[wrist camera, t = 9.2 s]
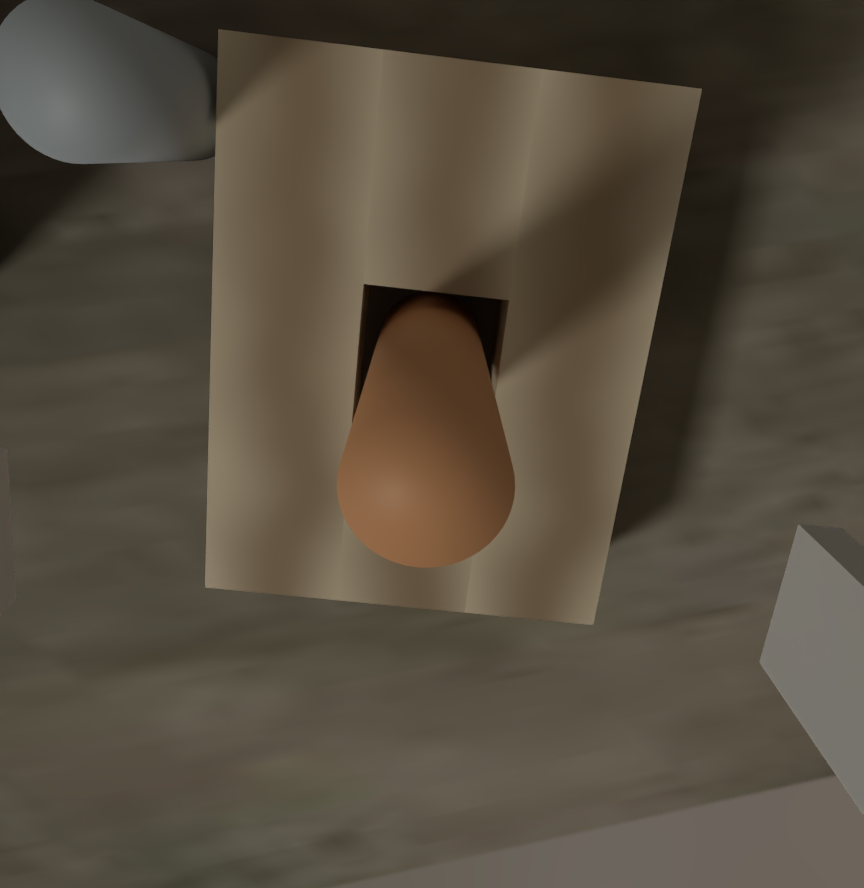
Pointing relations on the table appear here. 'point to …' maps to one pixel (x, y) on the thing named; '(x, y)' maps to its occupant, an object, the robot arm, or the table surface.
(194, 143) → the grey dowel
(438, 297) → the tapered brown peg
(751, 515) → the table surface
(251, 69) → the bore block
